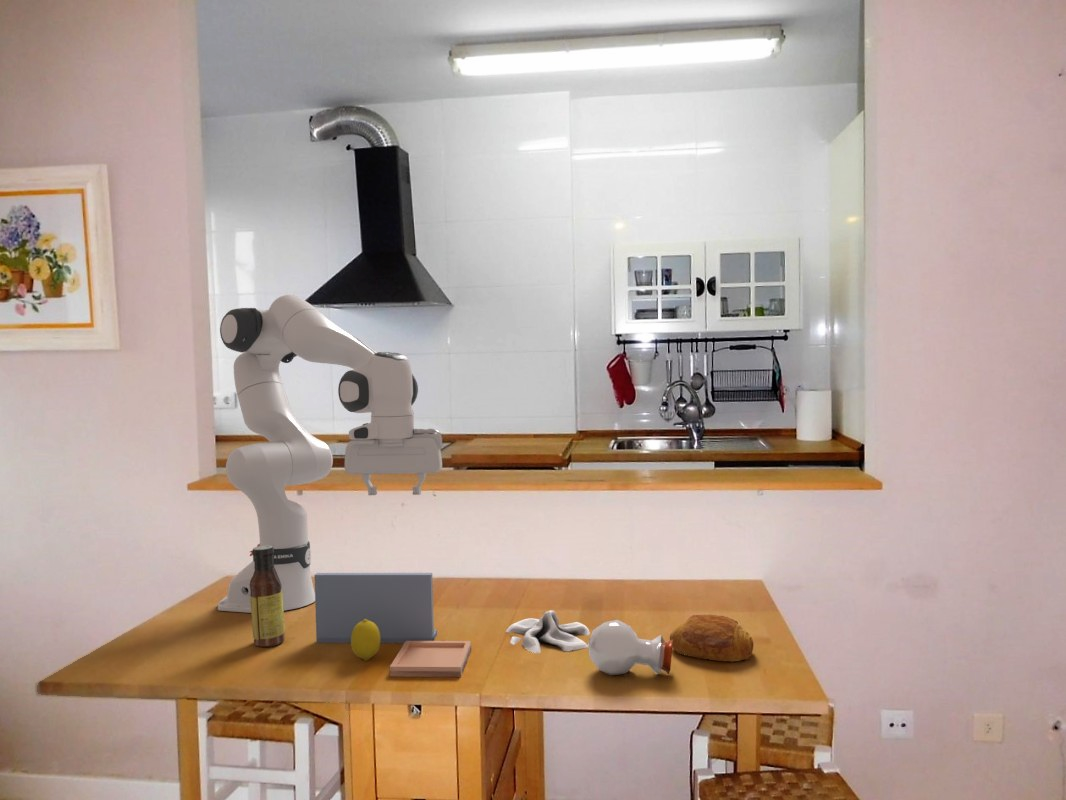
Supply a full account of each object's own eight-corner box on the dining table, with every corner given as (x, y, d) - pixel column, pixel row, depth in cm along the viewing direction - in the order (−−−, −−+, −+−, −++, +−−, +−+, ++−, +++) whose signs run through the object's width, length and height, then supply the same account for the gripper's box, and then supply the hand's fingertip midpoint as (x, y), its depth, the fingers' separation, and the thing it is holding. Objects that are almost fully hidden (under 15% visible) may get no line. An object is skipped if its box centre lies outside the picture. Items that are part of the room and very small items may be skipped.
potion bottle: (584, 675, 141) (666, 689, 138) (583, 661, 133) (670, 676, 130) (592, 625, 146) (671, 638, 143) (590, 609, 137) (675, 622, 135)
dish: (390, 676, 138) (389, 666, 138) (406, 649, 151) (406, 640, 151) (461, 676, 138) (460, 667, 138) (471, 650, 151) (471, 641, 151)
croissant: (742, 682, 138) (747, 640, 137) (661, 656, 146) (665, 616, 145) (761, 653, 151) (766, 615, 150) (685, 630, 158) (689, 594, 157)
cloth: (509, 622, 168) (508, 594, 168) (593, 624, 166) (593, 596, 166) (492, 661, 146) (492, 629, 146) (589, 664, 144) (589, 632, 144)
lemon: (374, 666, 143) (372, 624, 143) (346, 665, 144) (345, 623, 144) (385, 655, 149) (384, 615, 148) (359, 654, 150) (357, 613, 149)
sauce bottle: (291, 639, 159) (288, 544, 158) (272, 649, 153) (268, 551, 152) (265, 636, 161) (262, 542, 160) (245, 646, 155) (241, 549, 154)
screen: (316, 642, 156) (314, 575, 156) (324, 634, 161) (322, 568, 161) (432, 643, 155) (430, 574, 154) (437, 634, 160) (435, 568, 159)
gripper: (444, 427, 163) (446, 491, 164) (349, 428, 164) (351, 492, 165) (439, 429, 157) (441, 496, 157) (341, 431, 158) (343, 497, 158)
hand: (394, 494), depth 161 cm, fingers open, 8 cm apart
